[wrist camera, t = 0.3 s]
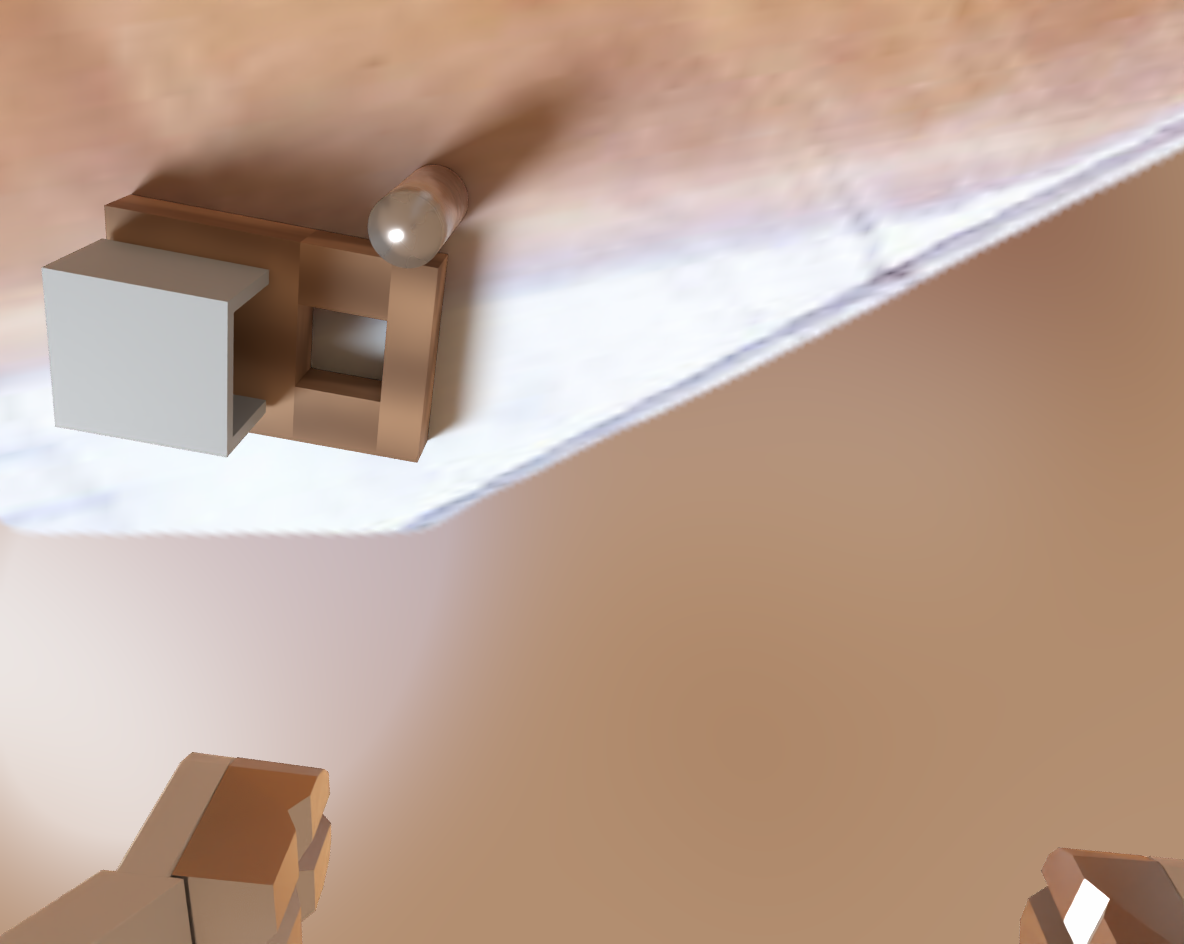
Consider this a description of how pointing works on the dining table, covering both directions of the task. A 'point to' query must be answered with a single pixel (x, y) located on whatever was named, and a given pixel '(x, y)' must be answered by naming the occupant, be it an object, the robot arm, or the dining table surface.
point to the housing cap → (148, 345)
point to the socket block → (285, 316)
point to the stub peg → (418, 216)
